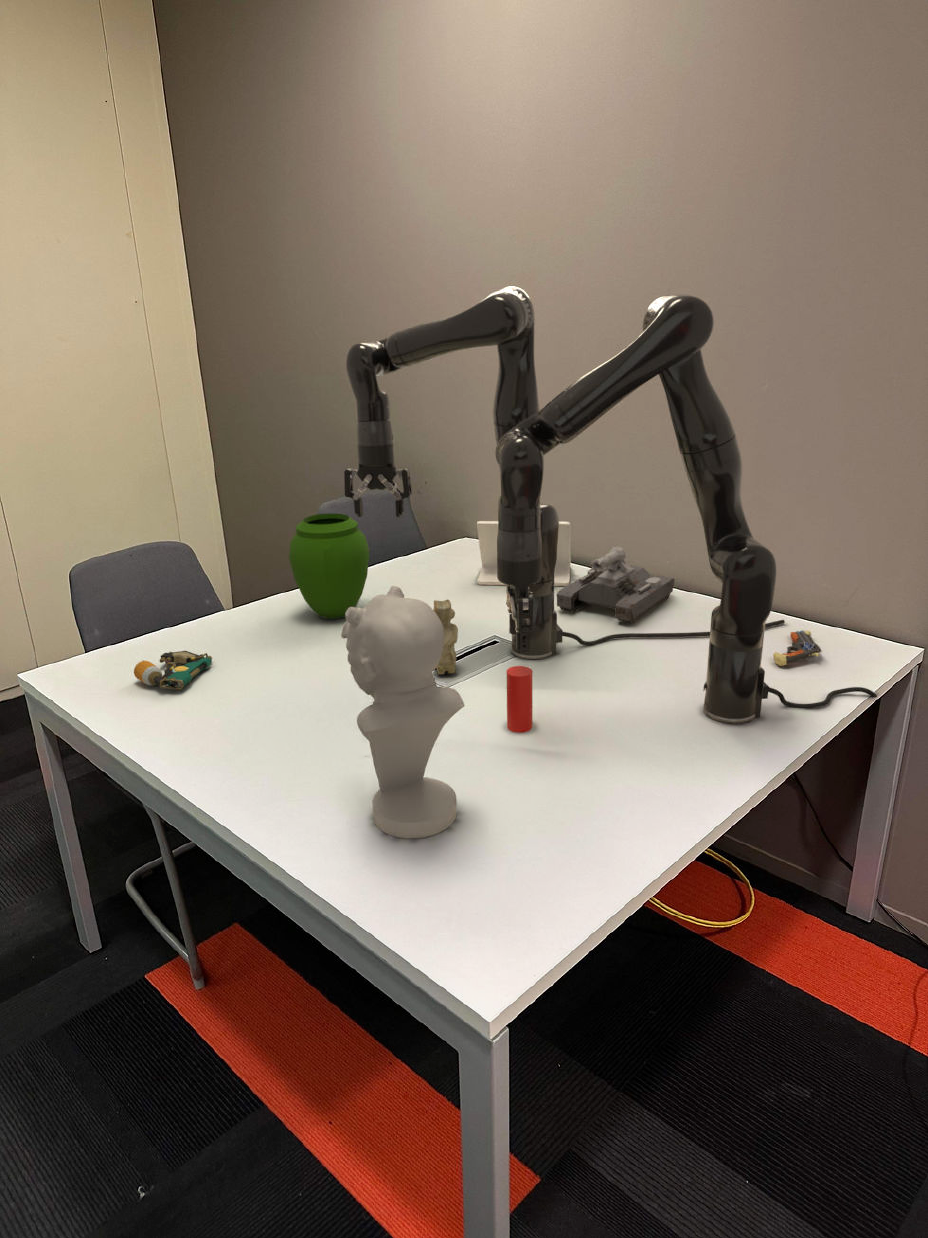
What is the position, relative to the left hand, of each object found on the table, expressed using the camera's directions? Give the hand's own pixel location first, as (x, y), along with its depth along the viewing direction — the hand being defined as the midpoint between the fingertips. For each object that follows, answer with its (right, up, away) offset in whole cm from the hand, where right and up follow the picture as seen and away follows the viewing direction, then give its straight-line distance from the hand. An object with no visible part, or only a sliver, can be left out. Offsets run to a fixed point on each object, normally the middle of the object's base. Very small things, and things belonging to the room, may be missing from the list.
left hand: (379, 516), depth 186 cm
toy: (+57, -19, +29) cm, 66 cm away
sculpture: (+14, -33, -6) cm, 37 cm away
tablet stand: (+35, -10, +54) cm, 65 cm away
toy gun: (+89, -29, -2) cm, 94 cm away
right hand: (+28, -26, -36) cm, 53 cm away
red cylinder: (+28, -42, -30) cm, 59 cm away
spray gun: (-42, -35, -5) cm, 55 cm away
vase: (-14, -21, +28) cm, 38 cm away
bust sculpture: (+8, -51, -54) cm, 75 cm away
